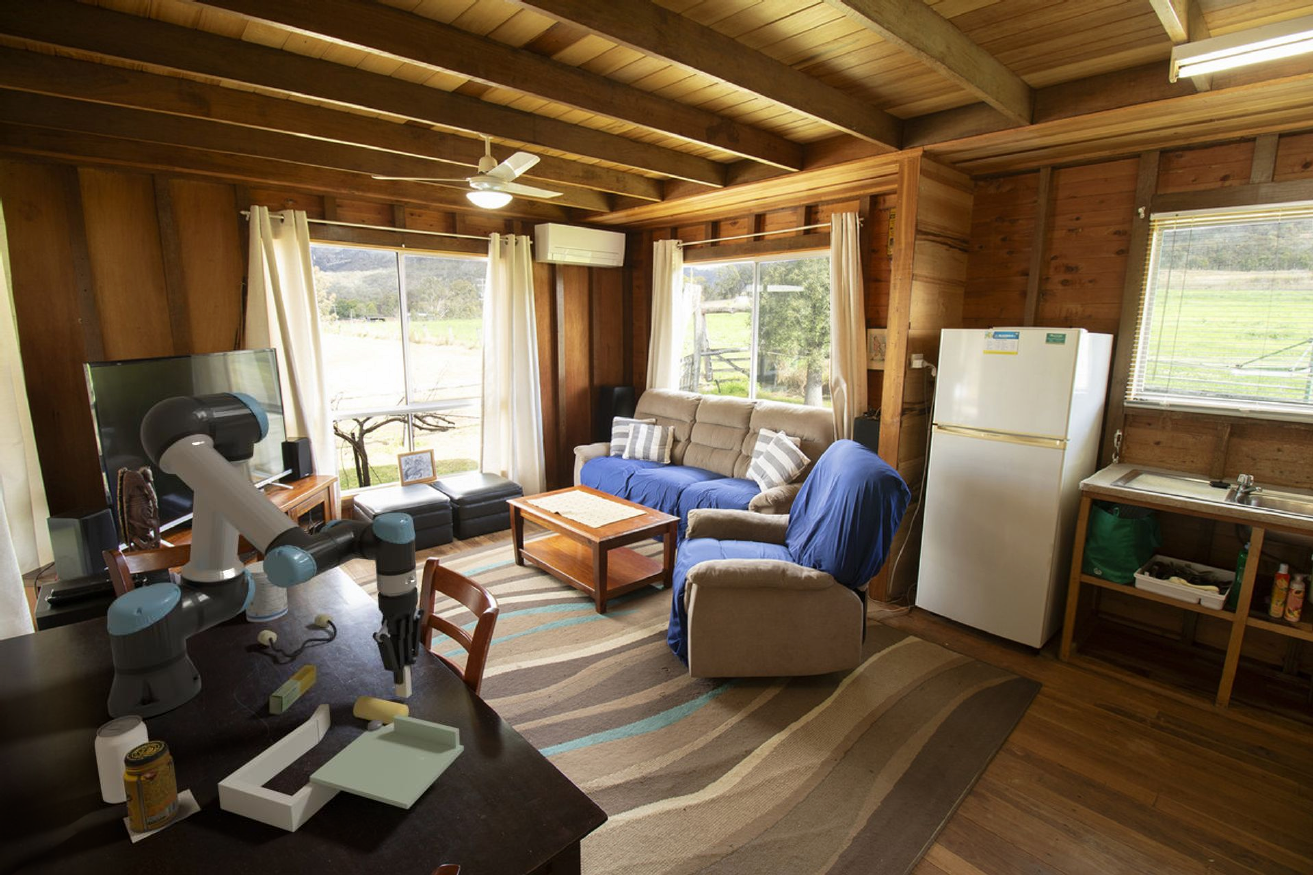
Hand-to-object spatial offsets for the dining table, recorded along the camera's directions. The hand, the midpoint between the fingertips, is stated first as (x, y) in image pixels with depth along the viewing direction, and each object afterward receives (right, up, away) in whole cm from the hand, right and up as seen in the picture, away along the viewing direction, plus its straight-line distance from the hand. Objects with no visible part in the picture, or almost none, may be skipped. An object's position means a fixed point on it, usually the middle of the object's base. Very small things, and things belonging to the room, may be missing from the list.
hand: (403, 694), depth 127 cm
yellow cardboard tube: (-2, -3, -6) cm, 7 cm away
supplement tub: (-53, +5, +38) cm, 65 cm away
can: (-36, -5, -26) cm, 44 cm away
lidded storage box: (-7, -5, -21) cm, 23 cm away
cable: (-34, +3, +24) cm, 42 cm away
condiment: (-26, -6, -31) cm, 41 cm away
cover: (+8, -1, -25) cm, 27 cm away
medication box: (-24, -1, +1) cm, 24 cm away
